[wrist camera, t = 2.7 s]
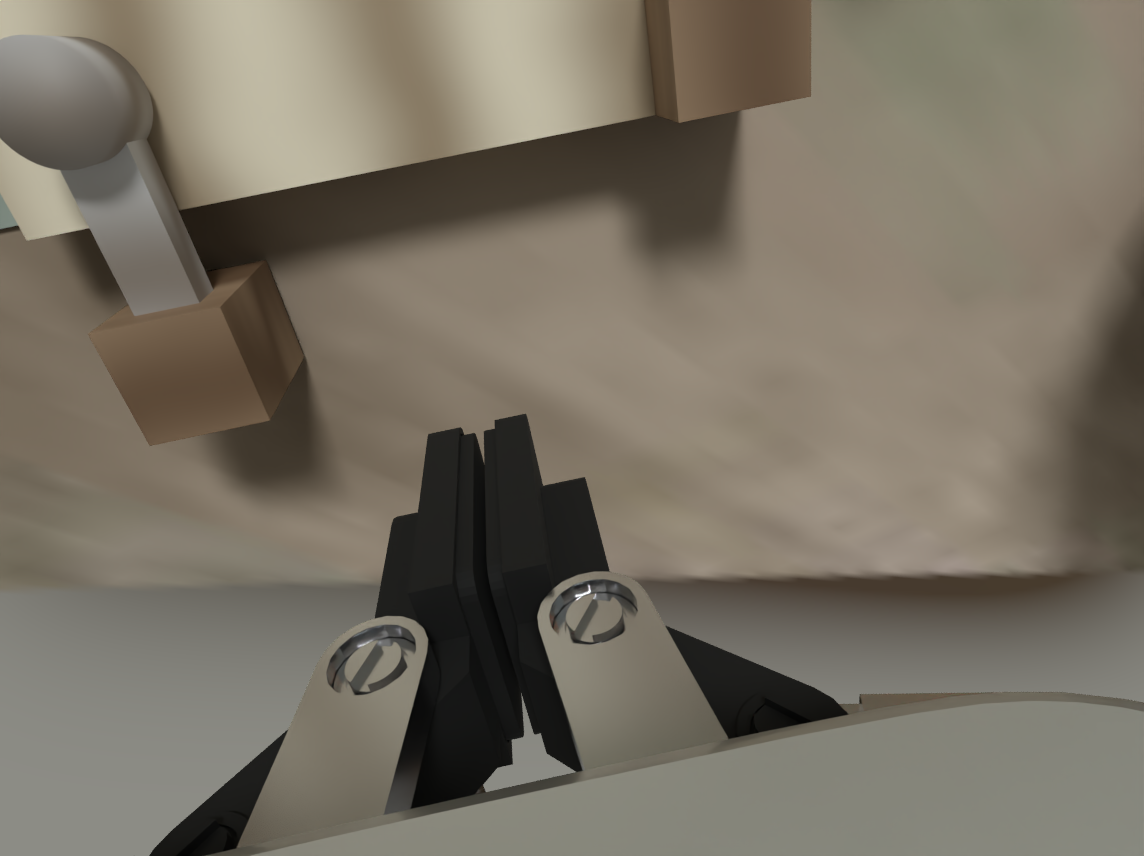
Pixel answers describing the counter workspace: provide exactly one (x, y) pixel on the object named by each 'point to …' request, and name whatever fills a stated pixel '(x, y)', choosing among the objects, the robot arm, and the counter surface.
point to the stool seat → (399, 81)
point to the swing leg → (147, 247)
